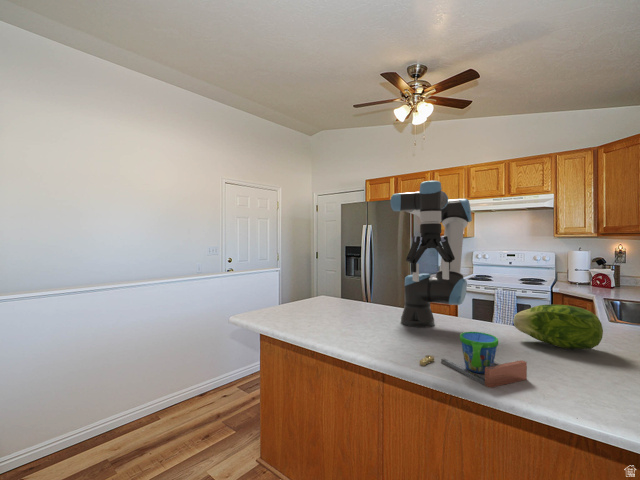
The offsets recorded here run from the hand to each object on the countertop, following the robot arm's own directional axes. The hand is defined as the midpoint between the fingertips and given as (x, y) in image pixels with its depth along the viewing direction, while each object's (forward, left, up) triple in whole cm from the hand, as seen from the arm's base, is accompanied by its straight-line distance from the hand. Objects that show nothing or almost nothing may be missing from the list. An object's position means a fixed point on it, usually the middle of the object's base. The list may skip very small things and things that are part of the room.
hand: (431, 280), depth 117 cm
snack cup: (0, +22, -25) cm, 33 cm away
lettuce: (-43, +16, -25) cm, 52 cm away
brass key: (+12, +12, -25) cm, 30 cm away
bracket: (0, +22, -25) cm, 33 cm away
